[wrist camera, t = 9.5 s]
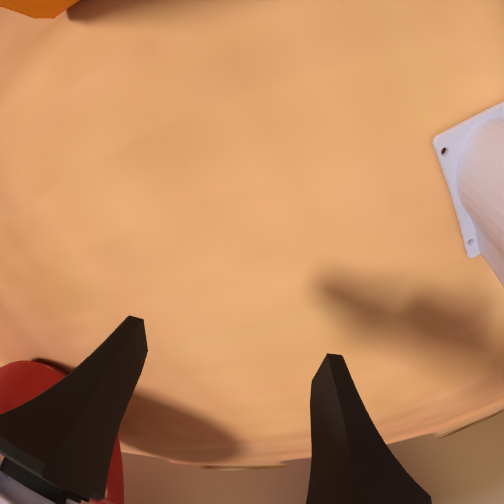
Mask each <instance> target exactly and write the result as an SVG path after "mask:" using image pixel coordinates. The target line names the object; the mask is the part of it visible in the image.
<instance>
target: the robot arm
mask: <svg viewBox="0 0 504 504" xmlns="http://www.w3.org/2000/svg"><path fill="white" fill-rule="evenodd" d="M432 145H433V148H434V150H435V153H436V156H437V158H438V161H439V164H440V166H441V169H442V172H443V175H444V178H445V181H446V183H447V186H448V190H449V193H450V196H451V199H452V202H453V206H454V209H455V212H456V216H457V219H458V223H459V227H460V231H461V235H462V239H463V243H464V247H465V251H466V254H467V256H468V257H469V258H473V257H475V256H477V255H479V254H481V255H482V256H483V258H484V259H485V260H486V262H487V263H488V265H489V266H490V267H491V269H492V270H493V272H494V273H495V275H496V276H497V278H498V279H499V281H500V282H501V284H502V285H503V287H504V101H503V102H501V103H499V104H497V105H495V106H493V107H491V108H489V109H487V110H485V111H483V112H481V113H479V114H477V115H475V116H473V117H471V118H469V119H467V120H465V121H463V122H461V123H459V124H457V125H455V126H453V127H451V128H450V129H448V130H446V131H444V132H442V133H440V134H438V135H436V136H435V137H434V138H433V141H432ZM443 148H446V151H445V153H444V154H441V150H442V149H443ZM470 239H471V241H470V242H469V240H470ZM147 352H148V347H147V341H146V334H145V327H144V319H141V318H137V317H133V316H128V317H127V318H126V319H125V320H124V321H123V322H122V323H121V324H120V325H119V326H118V327H117V328H116V330H115V331H114V332H113V333H112V334H111V335H110V336H109V337H108V338H107V339H106V340H105V341H104V342H103V343H102V344H101V345H100V346H99V347H98V348H97V349H96V350H95V351H94V352H93V353H92V354H91V355H90V356H89V357H87V358H86V359H85V360H84V361H83V362H82V363H81V364H80V365H79V366H77V367H76V368H75V369H74V370H73V371H71V372H70V373H69V374H68V375H67V376H65V377H64V378H63V379H61V380H60V381H59V382H57V383H56V384H54V385H53V386H51V387H50V388H49V389H47V390H46V391H44V392H43V393H41V394H39V395H38V396H36V397H34V398H32V399H31V400H29V401H27V402H25V403H23V404H22V405H20V406H18V407H16V408H13V409H11V410H9V411H7V412H4V413H2V414H0V453H1V454H2V455H3V456H5V457H4V459H3V461H2V460H1V459H0V504H80V502H81V499H82V500H84V501H86V502H89V500H90V498H91V499H93V500H96V501H100V500H103V499H104V498H105V492H106V485H107V478H108V473H109V468H110V463H111V458H112V453H113V449H114V445H115V441H116V437H117V434H118V430H119V426H120V423H121V420H122V417H123V415H124V412H125V410H126V408H127V405H128V403H129V400H130V398H131V396H132V393H133V391H134V389H135V386H136V384H137V382H138V379H139V377H140V375H141V372H142V369H143V366H144V362H145V359H146V355H147ZM310 416H311V442H312V461H311V471H310V480H309V488H308V495H307V501H306V504H432V502H431V496H430V495H429V494H428V493H427V492H426V491H424V490H423V489H422V488H421V487H420V486H419V485H418V484H417V483H416V482H415V481H414V480H413V478H412V477H411V476H410V475H409V474H408V473H407V472H406V471H405V469H404V468H403V467H402V465H401V464H400V463H399V462H398V460H397V459H396V458H395V457H394V455H393V454H392V452H391V451H390V450H389V448H388V447H387V445H386V444H385V442H384V441H383V439H382V437H381V436H380V434H379V433H378V431H377V429H376V427H375V426H374V424H373V422H372V420H371V418H370V416H369V414H368V412H367V410H366V408H365V406H364V404H363V402H362V400H361V398H360V396H359V394H358V391H357V389H356V387H355V385H354V382H353V380H352V378H351V375H350V373H349V370H348V368H347V365H346V363H345V360H344V358H343V356H342V355H336V354H328V353H327V355H326V357H325V359H324V360H323V362H322V364H321V366H320V367H319V369H318V371H317V373H316V374H315V376H314V378H313V380H312V384H311V397H310Z"/></svg>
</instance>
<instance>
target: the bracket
mask: <svg viewBox="0 0 504 504" xmlns="http://www.w3.org/2000/svg"><path fill="white" fill-rule="evenodd" d="M78 1H79V0H0V7H3V8H7V9H10V10H12V11H15V12H18V13H21V14H24V15H27V16H29V17H32V18H55V17H56V16H58V15H59V14H61V13H62V12H63V11H65V10H66V9H67V8H69V7H70V6H72V5H73V4H75V3H76V2H78Z"/></svg>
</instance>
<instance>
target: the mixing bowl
mask: <svg viewBox="0 0 504 504" xmlns="http://www.w3.org/2000/svg"><path fill="white" fill-rule="evenodd" d="M67 375H68V373H66V372H64V371H63V370H60V369H59V368H56V367H54V366H52V365H49V364H46V363H42V362H33V361H16V362H13V363H10V364H7V365H5V366H3V367H1V368H0V414H2V413H4V412H7V411H9V410H11V409H13V408H16V407H18V406H20V405H22V404H23V403H25V402H27V401H29V400H31V399H32V398H34V397H36V396H38V395H39V394H41V393H43V392H44V391H46V390H47V389H49V388H50V387H51V386H53V385H54V384H56V383H57V382H59V381H60V380H61V379H63V378H64V377H65V376H67ZM123 483H124V481H123V466H122V457H121V449H120V443H119V438H118V434H117V437H116V441H115V445H114V449H113V453H112V458H111V463H110V468H109V473H108V478H107V485H106V492H105V498H104V499H103V500H100V501H96V500H93V499H91V498H90V500H89V501H90V502H92V503H95V504H124V484H123Z"/></svg>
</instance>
